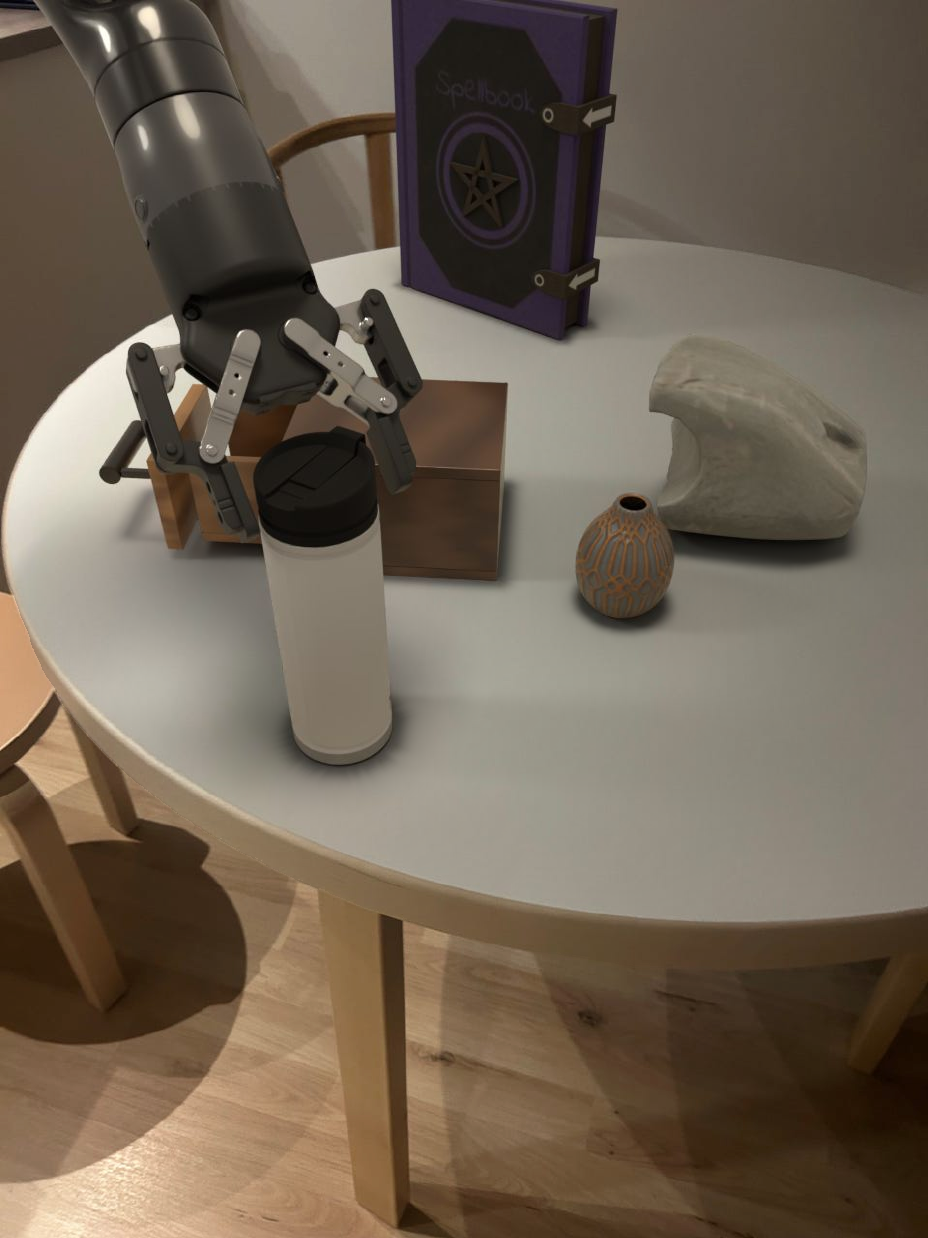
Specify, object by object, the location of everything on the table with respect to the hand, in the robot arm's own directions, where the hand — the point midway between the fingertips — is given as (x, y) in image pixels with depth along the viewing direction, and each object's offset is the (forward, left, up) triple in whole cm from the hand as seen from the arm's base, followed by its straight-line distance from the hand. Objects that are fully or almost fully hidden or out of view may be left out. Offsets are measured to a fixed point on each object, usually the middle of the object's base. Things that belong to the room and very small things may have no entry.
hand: (328, 513), depth 49 cm
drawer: (-12, +23, -16) cm, 30 cm away
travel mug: (-1, +1, -17) cm, 17 cm away
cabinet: (0, +23, -17) cm, 28 cm away
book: (+5, +67, -17) cm, 69 cm away
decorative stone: (+27, +26, -17) cm, 41 cm away
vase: (+17, +15, -17) cm, 29 cm away
